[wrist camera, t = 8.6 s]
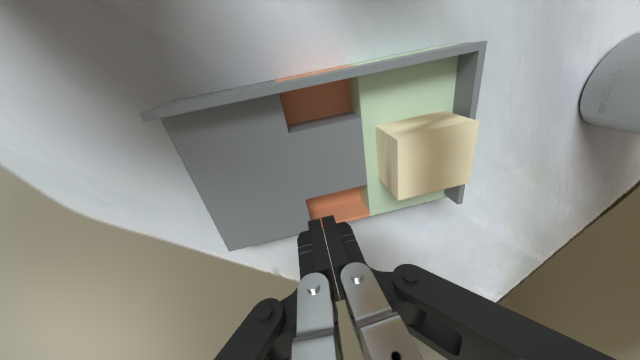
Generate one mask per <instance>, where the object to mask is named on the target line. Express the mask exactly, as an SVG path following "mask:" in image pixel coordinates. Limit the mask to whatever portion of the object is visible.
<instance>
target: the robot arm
mask: <svg viewBox="0 0 640 360" xmlns="http://www.w3.org/2000/svg"><path fill="white" fill-rule="evenodd" d="M580 111H581V116H582V117H583V119H584V121H586V122H587V123H588V124H592V125H596V126H601V127H605V128H610V129H615V130H620V131H625V132H630V133H635V134H639V135H640V33H638V34H635V35H633V36H631V37H629V38H627V39H626V40H624V41H623V42H621V43H620V44H619V45H617V46H616V47H615V48H614V49H613V50H611V51H610V52H609V53H608V54H607V56H606V57H605V58H604V59H603V60H602V61H601V62H600V63H599V65H598V66H597V67H596V69H595V70H594V71H593V73H592V75H591V76H590V78H589V80H588V81H587V84H586V86H585V88H584V90H583V94H582V97H581V103H580ZM321 220H322V224H323V228H324V233H325V237H326V241H327V245H328V249H329V254H330V258H331V262H332V266H333V270H334V274H335V278H336V282H337V286H338V290H339V295H340V299H341V300H344V299H345V301H346V305H347V309H348V314H349V317H350V320H351V323H352V326H353V329H354V332H355V335H356V338H357V341H358V344H359V347H360V350H361V353H362V355H363V358H364V360H423V358H422V356H421V354H420V352H419V350H418V348H417V346H416V345H415V343H414V341H413V339H412V337H411V335H413V336H414V337H416V338H418V339H419V340H420V341H422V342H423V343H425V344H426V345H427V346H429V347H430V348H432V349H433V350H435V351H436V352H438V353H439V354H441V355H442V356H444V357H445V358H447V359H448V360H616V359H614V358H612V357H610V356H607V355H605V354H603V353H601V352H599V351H597V350H595V349H593V348H591V347H588V346H586V345H584V344H582V343H580V342H578V341H576V340H573V339H571V338H569V337H567V336H565V335H563V334H561V333H558V332H556V331H554V330H552V329H550V328H548V327H546V326H543V325H541V324H539V323H537V322H535V321H533V320H531V319H529V318H526V317H524V316H522V315H520V314H518V313H516V312H513V311H512V310H509V309H507V308H505V307H503V306H501V305H499V304H497V303H495V302H492V301H490V300H488V299H486V298H484V297H482V296H480V295H477V294H475V293H473V292H471V291H469V290H467V289H465V288H463V287H460V286H458V285H456V284H454V283H452V282H450V281H448V280H445V279H443V278H441V277H439V276H437V275H435V274H433V273H431V272H428V271H426V270H424V269H422V268H420V267H418V266H415V265H412V264H402V265H400V266H398V267H396V268H395V269H394V271H393V272H381V271H377V270H374V269H372V268H370V267H369V266H368V265H367V264H366V262H365V260H364V258H363V255H362V253H361V251H360V248H359V246H358V243H357V241H356V238H355V236H354V234H353V231H352V229H351V226H350V225H348V224H347V223H346V222H345V221H344V222H340V223H336V221H335V218H334V215H330V216H326V217H322V218H321ZM308 228H309V230H307V231H303V232H300V234H299V237H298V239H297V242H298V254H299V267H300V282H299V284H298V287H297V289H296V290H295V291H294V293H292V294H291V295H290V296H288V297H286V298H285V299H283V300H281V301H280V302H279V301H278V300H277V299H274V298H268V299H265V300H263V301H261V302H259V303H258V304H257V305H256V306H255V307H254V308H253V309H252V311H251V312H250V313H249V314H248V316H247V317H246V318H245V320H244V321H243V322H242V324H241V325H240V326H239V327H238V329H237V330H236V331H235V333H234V334H233V335H232V337H231V338H230V339H229V341H228V342H227V343H226V344H225V346H224V347H223V348H222V350H221V351H220V352H219V353H218V355H217V356H216V358H215V359H214V360H344V358H343V351H342V344H341V336H340V329H339V322H338V311H337V306H336V302H337V301H339V296H338V292H337V288H336V284H335V279H334V275H333V271H332V267H331V263H330V258H329V254H328V250H327V246H326V242H325V237H324V233H323V229H322V225H321V221H320V218H318V219H314V220H310V221H308ZM409 333H410V334H411V335H410V334H409Z"/></svg>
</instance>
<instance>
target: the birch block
mask: <svg viewBox="0 0 640 360" xmlns="http://www.w3.org/2000/svg"><path fill="white" fill-rule="evenodd" d="M479 122H480V121H477V120H474V119H470V118H467V117H464V116H460V115H457V114H453V113H450V112H447V111H438V112H434V113H429V114H425V115H420V116H416V117H412V118H407V119H403V120H398V121H394V122H390V123H385V124H381V125H376V126H375V129H376V146H377V163H378V178H379V179H380V180H381V181H382V182H383V184H384V185H385V186H386V187H387V188H388V189H389V191H390V192H391V193H392V194H393V195H394V196H395V197H396V199H397V200H402V199H406V198H410V197H414V196H418V195H422V194H426V193H430V192H435V191H439V190H443V189H447V188H451V187H455V186H459V185H463V184H467V183H470V177H471V171H472V165H473V159H474V153H475V146H476V140H477V134H478V128H479Z"/></svg>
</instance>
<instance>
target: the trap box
mask: <svg viewBox="0 0 640 360" xmlns="http://www.w3.org/2000/svg"><path fill="white" fill-rule="evenodd" d="M486 45H487V41H480V42H470V43H460V44H450V45H440V46H435V47H431V48H426V49H421V50H416V51H411V52H407V53H402V54H397V55H392V56H387V57H382V58H378V59H373V60H368V61H363V62H358V63H354V64H349V65H344V66H339V67H334V68H329V69H325V70H320V71H315V72H310V73H305V74H301V75H296V76H291V77H286V78H281V79H276V80H272V81H267V82H262V83H257V84H252V85H248V86H243V87H238V88H233V89H228V90H223V91H219V92H214V93H209V94H204V95H199V96H195V97H190V98H185V99H180V100H175V101H171V102H169V103H166V104H163V105H161V106H158V107H155V108H153V109H150V110H147V111H145V112H142V113H140V115H141V117H142V119H143V121H149V120H153V119H158V118H161V120H162V122H163V124H164V126H165V128H166V130H167V132H168V134H169V136H170V138H171V140H172V142H173V144H174V146H175V148H176V150H177V151H178V153H179V155H180V157H181V159H182V161H183V163H184V165H185V167H186V169H187V171H188V173H189V175H190V177H191V179H192V181H193V183H194V184H195V186H196V188H197V190H198V192H199V194H200V196H201V198H202V200H203V202H204V204H205V206H206V208H207V210H208V212H209V214H210V216H211V217H212V219H213V221H214V223H215V225H216V227H217V229H218V231H219V233H220V235H221V237H222V239H223V241H224V243H225V245H226V247H227V249H228V250H229V252H230V251H234V250H238V249H242V248H246V247H250V246H254V245H258V244H262V243H266V242H270V241H274V240H278V239H282V238H285V237H289V236H293V235H297V234H300V232H303V231H307V230H309V228H308V221H310V220H314V219H318V218H320V221H321V225H322V228H323V224H322V220H321V218H322V217H326V216H330V215H334V218H335V221H336V223H340V222H344V221H345V222H349V221H353V220H357V219H361V218H365V217H369V216H373V215H377V214H381V213H385V212H389V211H393V210H397V209H401V208H405V207H409V206H413V205H417V204H421V203H425V202H429V201H433V200H437V199H441V198H445V197H449V198H450V199H451V200H452V201H454V202H455V203H456V204H461V203H462V201H463V195H464V188H465V184H463V185H459V186H455V187H451V188H447V189H443V190H439V191H435V192H430V193H426V194H422V195H418V196H414V197H410V198H406V199H402V200H397V199H396V197H395V196H394V195H393V194H392V193H391V192H390V191H389V189H388V188H387V187H386V186H385V185H384V184H383V182H382V181H381V180H380V179H379V178H378V163H377V146H376V129H375V126H376V125H381V124H385V123H390V122H394V121H398V120H403V119H407V118H412V117H416V116H420V115H425V114H429V113H434V112H438V111H447V112H450V113H453V114H457V115H460V116H464V117H467V118H470V119H474V120H475V117H476V110H477V104H478V97H479V90H480V84H481V77H482V71H483V64H484V58H485V51H486Z"/></svg>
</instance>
